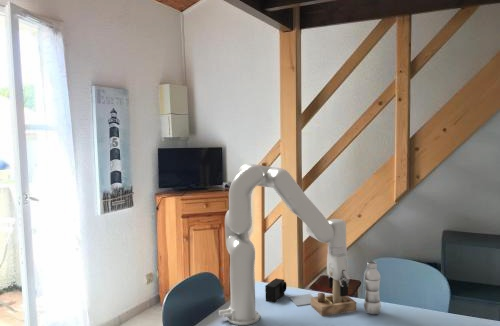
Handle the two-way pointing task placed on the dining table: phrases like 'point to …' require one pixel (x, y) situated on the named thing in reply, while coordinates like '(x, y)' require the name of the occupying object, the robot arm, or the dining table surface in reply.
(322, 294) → the body
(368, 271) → the plastic bottle
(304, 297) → the mat
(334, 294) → the handle
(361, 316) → the dining table surface
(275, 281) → the digital camera
